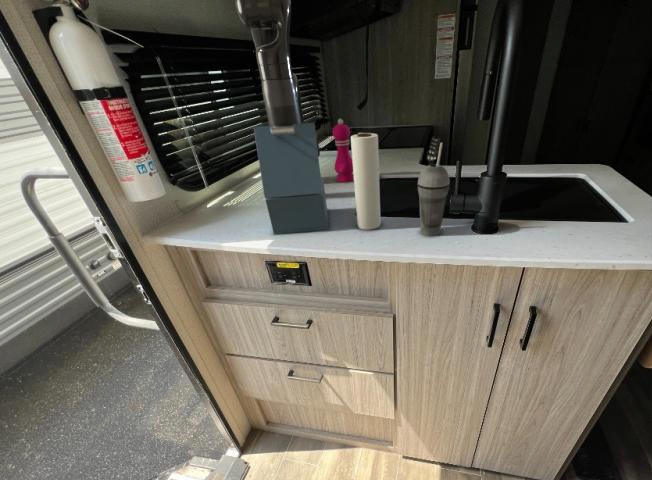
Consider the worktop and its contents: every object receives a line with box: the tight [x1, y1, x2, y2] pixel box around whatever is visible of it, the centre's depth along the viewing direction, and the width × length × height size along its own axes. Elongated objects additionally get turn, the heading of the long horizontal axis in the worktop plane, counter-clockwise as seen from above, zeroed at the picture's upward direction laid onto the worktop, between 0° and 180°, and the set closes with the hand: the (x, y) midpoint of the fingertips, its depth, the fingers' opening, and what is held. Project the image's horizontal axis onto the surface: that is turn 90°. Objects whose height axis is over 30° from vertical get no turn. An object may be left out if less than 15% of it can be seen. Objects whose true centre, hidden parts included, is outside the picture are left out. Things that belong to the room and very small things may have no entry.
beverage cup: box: [416, 142, 451, 237], centre depth 72 cm, size 7×7×20 cm
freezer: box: [265, 178, 329, 235], centre depth 85 cm, size 15×14×9 cm
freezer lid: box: [253, 122, 323, 199], centre depth 73 cm, size 16×14×5 cm
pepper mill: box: [332, 118, 354, 183], centre depth 113 cm, size 7×7×20 cm
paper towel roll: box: [350, 132, 382, 231], centre depth 77 cm, size 7×6×21 cm
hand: (295, 176), depth 82 cm, fingers open, 8 cm apart
